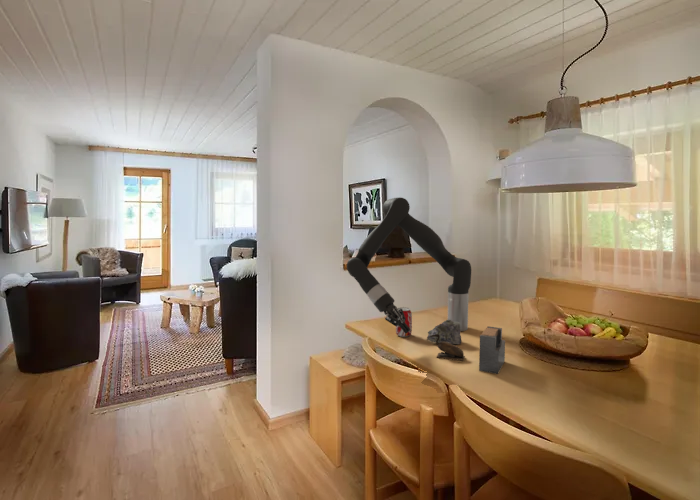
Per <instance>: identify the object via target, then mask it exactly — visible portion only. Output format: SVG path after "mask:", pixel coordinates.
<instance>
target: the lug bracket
mask: <svg viewBox="0 0 700 500" xmlns="http://www.w3.org/2000/svg"><path fill="white" fill-rule="evenodd" d="M478 354H479V356H478V357H479V358H478V359H479V361H478V362H479V363H478V364H479V365H478V371H479V372H484V373H490V374H496V375H499V373H500V372H501V369H502V368H503V366H504V364H505V362H506V361H505V358H506V357H505V355H506V340H505V339H503V328H502V327H494V326H487V327H486V328H485V329H484V330H483V332H481V334H480V335H479V353H478Z"/></svg>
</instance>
